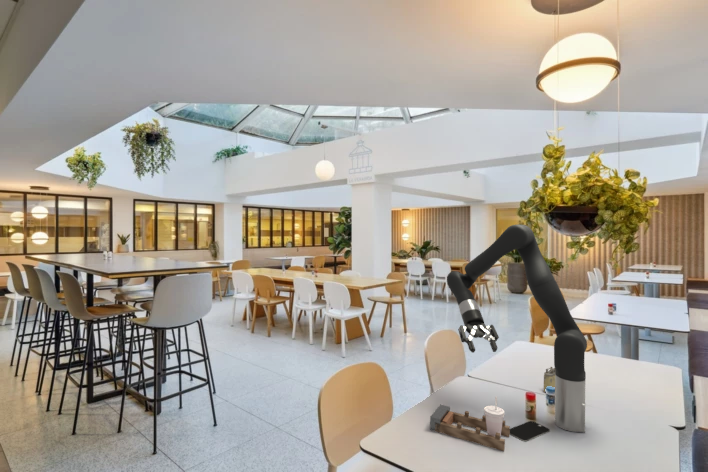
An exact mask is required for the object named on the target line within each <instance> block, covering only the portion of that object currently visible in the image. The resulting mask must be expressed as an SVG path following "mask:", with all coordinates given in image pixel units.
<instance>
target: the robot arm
mask: <svg viewBox="0 0 708 472" xmlns="http://www.w3.org/2000/svg"><path fill="white" fill-rule="evenodd" d="M535 236H536V235H535V233H534V232H533V230H532V229H531V227H529V226H528V225H525V224H512V225H509V226H508V227H507V228H506V229H505V230H504V231H503V233H501V234H500V235H499V236H498V238H497V239H496V240H495V241H494V242H493V243H492V244H491V245H489V247H487V248H486V249H485V250H484V251H482V252H481V253H480V254H478V255H476V257H474V258H472V260H471V261H469V262H468V263H467V264H466V265H465V266H464V271H465V273H462V272H459V271H457V270H454V271H453V270H452V271H450V272H449V273H448V275H447V277H446V283H447V285H448V288H449V290H450V291H451V293H452V295H453V296H454V297H455V299H456V303H457V305H458V308H459V313H460V314H459V315H460V316H461V318H462V321H463V324H464V326H463V325H460V326H459V327H458V333H459V339H460V341H461V342H462V343H466V344H467V347H468V349H469V352H471V353H475V351H476V347H475V345H474V341H473V340H472V339H473V338H474V339H478V338H481V339H484V340H486V341H488V342H489V345H490V347H491V351H492V352H493V353H495V352H497V350H498V349H499V348H498V345H497V340H498V339H499V338H500V337H499V335H498V332H497V330H496V328H495V326H494V324H490V325H486V324H485V320H484V317H483V314H482V313H481V312H482V311H481V310H480V307H479V305H478V303H477V301H476V299H475V297H474V293H473V292H472V291H471V290H470V289H471V287H472V286H473V285H474V283H476V281H477V280H478V278H480V277H481V276H482V275H484V274H485V273H486V272H488V271H489V270H490V269H491V268H493V266H494V265H495V264H496V263H497V262H498V261H499V260H500V259H502V258H503V257H504V256H506V255H507V254H509V253H511V252H513V251H515V250H516V251H517V252H518V254H519V256H520V258H521V261H522V262H523V265H524V271H525V276H526V277H525V278H526V282H527V286H528V287H529V289H530V292H531V294H532V296H533V298H534V300H535V301H536V303H537V304H538V306H539V307H540V309H541V310H542V311H543V312H544V313H545V315H546V316H547V317H548V319H549V321H550V323H551V324H552V326H553V329H554V331H555V334H556V338H555V339H554V344H553V345H554V346H553V366H554V368H555V392H554V424H555V425H556V426H557V427H558V428H560V429H562V430H565V431H567V432H568V431H569V432H574V433H586V375H587V374H586V369H585V352H586V351H587V349H588V342H587V338H586V337H585V335H584V334H583V332H582V330H581V329H580V327H579V326H578V324H577V323H576V321H575V320H574V318H573V316H572V314H571V312H570V309H569V307H568V305H567V302H566V300H565V298H564V295H563V293H562V291H561V288H560V287H559V285H558V281H556V279H555V277H554V274H553V273H552V271H551V269H550V267H549V266H548V264H547V262H546V260H545V258H544V256H543V255H542V253H541V250H540V247H539V244H538V242H537V239H536V237H535ZM466 332H467V333H468V337H467V335H466Z"/></svg>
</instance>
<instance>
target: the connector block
mask: <svg viewBox="0 0 708 472" xmlns="http://www.w3.org/2000/svg"><path fill="white" fill-rule="evenodd" d="M450 409H451V407H450V406H448V405H445V404H440V405H439V406H438V407H437V408H436V409H435V411H433V413H432V414H431V415H430V417H429V419H430V420H429V421H430V422H429V430H430V431H433V432H436V431H435V427H436V426H437V425H440V423H441V422H442V420H443V419H444V418H445V416H446V415H447V414H448V412H449V411H451V410H450ZM435 423H436V426H435ZM437 423H438V424H437ZM437 428H438V427H437ZM438 431H439V430H438ZM438 433H440V432H438Z"/></svg>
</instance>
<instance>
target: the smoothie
mask: <svg viewBox="0 0 708 472" xmlns="http://www.w3.org/2000/svg"><path fill="white" fill-rule="evenodd" d="M494 398H495V399H494V400H495V401H494V402H495V403H494V405H487V406H485V407H484V408H483V413H484V416H485V417H486V426H487V431H486V434H487V435H491V436H494V437H495V434H496V432H497V433H500V438H501V436H502V435H501V430H502V423H503V420H504V416H505V410H504V409H503V408H501V407H499V406H498V396H494Z"/></svg>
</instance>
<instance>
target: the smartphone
mask: <svg viewBox="0 0 708 472" xmlns="http://www.w3.org/2000/svg"><path fill="white" fill-rule="evenodd" d="M550 432H551V429H550V428H549V427H546V426H544V425H542V424H541V423H538V422H535V421H534V420H533V421H532V420H529V421H527V422H524V423H522V424H519V425H516V426H514V427H510V436H512V437H514V438H515V439H517V440H519V441H521V442H523V443H524V442H525V443H527V442H529V441H532V440H534V439H535V438H538V437H541V436H544V435H545V434H547V433H550Z"/></svg>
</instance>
